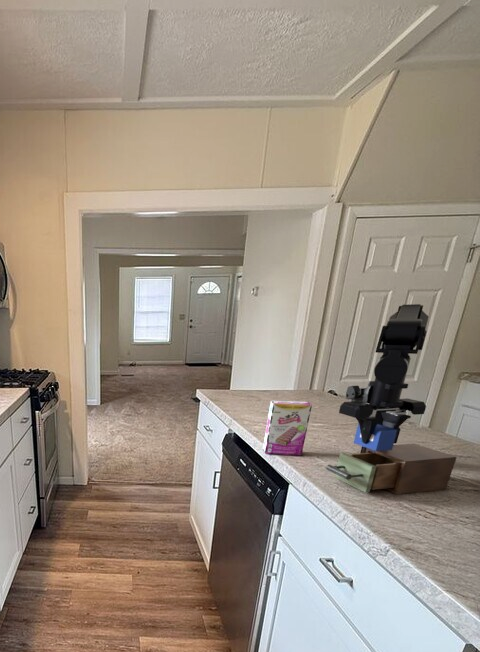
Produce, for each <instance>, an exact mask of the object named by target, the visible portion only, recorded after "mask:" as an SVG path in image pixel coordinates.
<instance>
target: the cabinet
mask: <svg viewBox="0 0 480 652" xmlns="http://www.w3.org/2000/svg"><path fill="white" fill-rule="evenodd" d="M371 452H373V453H376V454H379V455H381V456H384V457H386V458H389V459H392V460H394V461H397V462H400V463H402V465H401V468H400V472H399V475H398V478H397V482H396V485H395V487H394V488H384V490H386V491H388V492H390V493H393V494H394V495H401V494H402V495H403V494H411V493H421V492H423V493H424V492H432V491H443V490H447V487H448V484H449V481H450V478H451V475H452V472H453V470H454V468H455V464H456V461H457V458H458V457H457V456H455V455H452V454H449V453H445V452H443V451H439V450H436V449H433V448H430V447H427V446H424V445H420V444H417V443H403V444H393V448H392V450H385V451H374V450H371V449H368V448H367V449H366V453H371Z"/></svg>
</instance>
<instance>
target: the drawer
mask: <svg viewBox="0 0 480 652" xmlns="http://www.w3.org/2000/svg"><path fill="white" fill-rule="evenodd" d="M338 455H339V456H338V460H337V464H336V465H332V464H327V465H325V466H326V467H325V469H326V470H327V471H328V472H330V473H333V474H334V478H335V479H336V480H339V481H341V482H343V483H345V484H347V485H349V486H351V487H353V488H355V489H357V490H359V491H361V492H362V493H364V494H368V493H370V492H371V490H372V491H374V490H383V489H384V488H394V487H395V485H396V482H397V478H398V475H399V472H400V468H401V465H402V463H400V462H397V461H394V460H392V459H389V458H386V457H384V456H381V455H379V454H376V453H373V452H371V453H360V452H358V453H350V454H347V453H345V452H340V453H339V454H338ZM384 490H385V489H384Z"/></svg>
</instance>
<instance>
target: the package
mask: <svg viewBox="0 0 480 652" xmlns="http://www.w3.org/2000/svg"><path fill="white" fill-rule="evenodd" d="M396 433H397V430H396V429H392V428H389V427H386V426H382V425H379V424H377V425H376V427H375V429H374V431H373V433H372V436H371V438H370V439H369V441H368V443H367V444H365V443H363V442H362V437H361V431H360V426H359V423H357V427H356V431H355V435H354V439H353V444H355V445H358V446H360V447H362V446H363V447H366V448H368V449H371V450H374V451H385V450H392V448H393V445H395V443H394V441H395V437H396Z"/></svg>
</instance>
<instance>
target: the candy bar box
mask: <svg viewBox="0 0 480 652" xmlns="http://www.w3.org/2000/svg"><path fill="white" fill-rule="evenodd" d="M312 406H313V405H312V404H311V402H308V401H300V400H299V401H298V400H297V401H295V400H270V403H269V410H268V414H267V421H266V427H265V433H264V438H263V443H262V444H263V445H262V450H263V452H264V454H267V455H283V456H284V455H285V456H286V455H287V456H302V455H303V451H304V450H303V449H304V446H305V441H306V437H307V431H308V426H309V421H310V416H311V412H312Z"/></svg>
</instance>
